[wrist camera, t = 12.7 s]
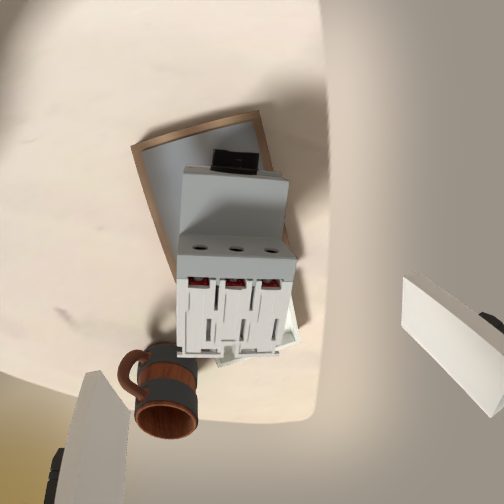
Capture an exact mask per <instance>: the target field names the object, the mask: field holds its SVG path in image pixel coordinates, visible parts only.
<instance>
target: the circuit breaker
mask: <svg viewBox="0 0 504 504" xmlns="http://www.w3.org/2000/svg"><path fill="white" fill-rule="evenodd" d="M259 154H260V153H253V152H233V151H228V150H222V149H213V160H212V165H211V166H198V165H185V168H184V171H183V181H182V195H181V212H180V232H179V242H178V250H177V284H176V327H177V347H182V352H177V357H185V358H223V356H224V346H232V350H233V353H234V357H235V358H242V357H271V356H279V352H278V351H275V348H276V345H281V343H282V338H283V333H284V328H285V323H286V318H287V312H288V307H289V302H290V296H291V291H292V286H293V280H294V274H295V269H296V263H297V257H296V256H295V255H294V254H293V253H292V251H291V250H290V249H289V248H288V247H287V246H286V244H285V243H284V242H283V241H282V233H283V225H284V218H285V211H286V204H287V196H288V189H289V181H288V180H286V179H283V178H281V175H282V173H279V172H271V171H261V170H259V169H258V163H259ZM202 349H214V350H215V352H208V351H202ZM241 349H252V350H253V351H241Z"/></svg>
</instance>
